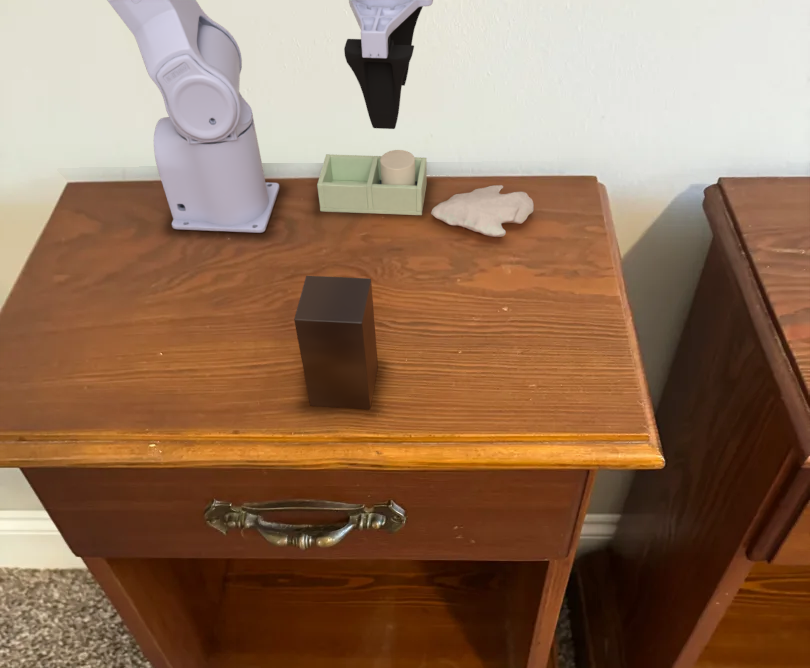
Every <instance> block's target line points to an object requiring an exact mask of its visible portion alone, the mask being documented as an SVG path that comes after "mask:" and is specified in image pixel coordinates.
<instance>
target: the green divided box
mask: <svg viewBox="0 0 810 668" xmlns="http://www.w3.org/2000/svg"><path fill="white" fill-rule="evenodd" d="M381 157H382V155H357V154H331V153H329V154H325V157H324V160H323V164H322V167H321V170H320V173H319V174H320V175H319V177H318V180H317V184H316V188H317V194H318V195H317V196H318V203H319V210H320V212H327V213H351V214H353V213H354V214H375V215H376V214H379V215H380V214H381V215H402V216H405V215H406V216H422V215H423V210H424V203H425V198H426V192H427V185H428V182H427V180H428V176H427V175H428V173H427V171H428V169H427V164H428V160H427V159H428V158H427V157H422V156H421V157H419V156H414V157H415V186H413V185H385V184H382V182H381V165H380V159H381Z"/></svg>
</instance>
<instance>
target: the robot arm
mask: <svg viewBox="0 0 810 668" xmlns="http://www.w3.org/2000/svg"><path fill="white" fill-rule="evenodd" d="M106 1H107V2H108V4H109V5H110V6H111V8H112V9H113V10H114V11H115V13H116V14H117V15H118V17H119V18H120V19H121V20H122V22H123V23H124V24H125V26H126V27H127V28H128V29H129V31H130V32H131V33H132V35H133V36H134V39H135V41H136V44H137V46H138V49H139V52H140V55H141V58H142V60H143V64H144V67H145V69H146V72H147V73H148V76H149V78H150V79H151V80H152V81H153V83H154V84H155V85H156V87H157V89H158V90H159V92H160V94H161V96H162V99H163V102H164V106H165V110H166V113H167V116H166V117H161V118H160V119H158V121H157V122H156V125H155V129H154V133H153V152H154V153H153V154H154V158H155V163H156V164H155V165H156V168H157V171H158V174H159V178H160V181H161V185H162V187H163V191H164V195H165V197H166V201H167V204H168V207H169V210H170V214H171V218H172V221H171V227H172V229H173V230H181V231H182V230H184V231H185V230H186V231H209V232H231V233H232V232H233V233H257V234H261V233H264V232H265V231H266V230H267V227H268V224H269V221H270V218H271V215H272V212H273V210H274V206H275V203H276V200H277V197H278V195H279V191H280V184H279V183H278V182H268V181H267V182H266V178H265V171H264V167H263V162H262V155H261V152H260V146H259V141H258V135H257V131H256V126H255V120H254V115H253V109H252V107H251V105H250V104H249V103H248V102H247V101H246V100H245V98H244V97H243V95H242V94H241V92H240V79H241V78H240V77H241V72H242V69H243V68H242V67H243V66H242V65H243V59H242V53H241V50H240V46H239V45H238V42H237V40H236V38H235V37H234V35H232V34H231V32H229V30H228V29H226V28H225V27H224V26H223V25H221V24H219V23H218V22H216V21H215V20H213V19H212V18H211V17H209V15H208V14H206V12H205V11H204V10H203V9H202V7H201V6H200V4H199V2H198V1H197V0H106ZM348 3H349V7H350V8H351V11H352V13H353V16H354V19H355V20H356V22H357V25H358V27H359V29H360V38H347V39H346V41H345V44H344V49H343V52H344V58H345V61H346V64H347V65H348V67H349V68H350V69H351V71H352V73H353V75H354V76H355V78H356V80H357V82H358V85H359V88H360V89H361V93H362V95H363V100H364V103H365V106H366V111H367V114H368V118H369V121H370V124H371V126H372V128H373V129H381V130H382V129H383V130H395V129H396V126H397V122H398V118H399V114H400V113H399V112H400V107H401V95H402V87H403V86H406V83H407V79H408V73H409V68H410V62H411V59H412V57H413V54H414V48H415V45H414V44H413V39H414V34H415V33H414V32H415V29H416V25H417V22H418V19H419V16H420V14H421V11H422V9H423V7H430V6H432V5H433V3H434V0H348ZM412 44H413V45H412Z"/></svg>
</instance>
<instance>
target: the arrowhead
mask: <svg viewBox="0 0 810 668" xmlns="http://www.w3.org/2000/svg"><path fill="white" fill-rule="evenodd" d="M502 189H504V185H502V184H499V185H495V184H493V185H489V186H488V185H487V186H485V187H481V188H480V187H479V188H475V189H473V190H472V191H470V192H463V193H456V194H453V195H451V197H449V198H448V199H447V200H445V201H441V202H439V203H438V204H437V205H435V206H434V207H433V208H431V212H430V214H431V215H432V216H433V217H434V218H435V219H437V220H439V221H442V222H444V223H445V224H447V225H449V226H459V227H461V228H466V229H468V230H470V231H473V232H475V233H480V234H482V235H484V236H486V237H493V238H494V237H495V238H501V237H502V238H503V237H505V235H506V230H505V229H504V228H503V225H502V224H518V225H519V224H523V223H524V222H525V221H527V219H528V217H529V216H530V215H531V214H532V213H533V212H534V201H533V199H532V197H529V194H528V193H527V192H525V191H513V192H508V193H500V192H501V190H502Z"/></svg>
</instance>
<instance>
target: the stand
mask: <svg viewBox="0 0 810 668" xmlns="http://www.w3.org/2000/svg"><path fill="white" fill-rule="evenodd" d="M303 282H304V283H303V287H302V290H301V294H300V297H299V301H298V305H297V308H296V311H295V315H294V318H293V321H294V326H295V332H296V337H297V342H298V347H299V353H300V358H301V365H302V369H303V375H304V380H305V385H306V390H307V396H308V400H309V406H311V407H323V408H324V407H325V408H340V409H357V410H371V407H372V402H373V396H374V391H375V385H376V379H377V374H378V369H379V361H378V350H377V348H378V347H377V338H376V336H377V335H376V323H375V311H374V297H373V296H374V295H373V286H372V279H371V278H369V277H367V278H365V277H348V276H347V277H345V276H344V277H343V276H321V275H306V276H305V279H304V281H303Z"/></svg>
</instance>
